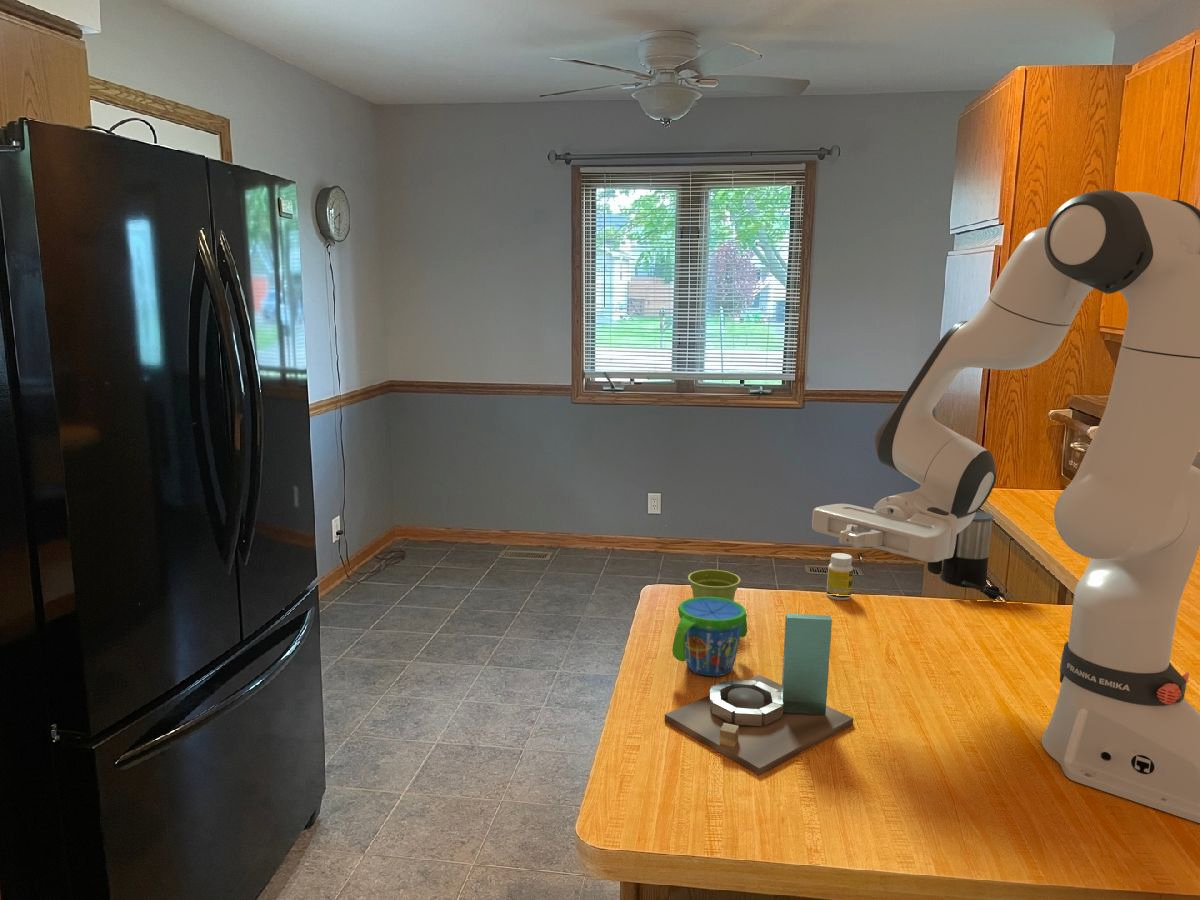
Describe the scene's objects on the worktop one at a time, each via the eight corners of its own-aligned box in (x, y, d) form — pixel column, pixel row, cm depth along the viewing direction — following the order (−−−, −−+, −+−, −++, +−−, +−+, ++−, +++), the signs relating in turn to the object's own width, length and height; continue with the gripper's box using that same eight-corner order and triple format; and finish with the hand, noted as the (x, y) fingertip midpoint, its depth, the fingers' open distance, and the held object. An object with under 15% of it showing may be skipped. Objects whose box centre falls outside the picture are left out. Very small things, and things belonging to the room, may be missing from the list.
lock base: (853, 724, 115) (854, 704, 115) (759, 775, 103) (760, 753, 102) (758, 680, 128) (759, 662, 128) (664, 720, 116) (665, 700, 115)
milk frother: (955, 571, 180) (962, 505, 178) (1028, 592, 168) (1036, 522, 165) (917, 584, 172) (923, 515, 169) (990, 607, 160) (998, 533, 157)
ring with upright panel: (830, 712, 116) (836, 618, 114) (768, 743, 108) (774, 642, 105) (756, 677, 126) (760, 590, 124) (695, 704, 118) (698, 611, 115)
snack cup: (722, 644, 141) (724, 588, 139) (768, 667, 133) (771, 607, 131) (651, 667, 132) (652, 607, 130) (695, 693, 124) (697, 629, 122)
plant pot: (680, 628, 148) (681, 582, 146) (694, 610, 156) (696, 566, 155) (731, 637, 144) (733, 589, 143) (743, 618, 153) (745, 573, 151)
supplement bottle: (852, 601, 162) (855, 560, 160) (827, 599, 163) (829, 558, 161) (849, 593, 166) (852, 553, 165) (825, 591, 167) (828, 551, 166)
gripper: (843, 490, 132) (789, 503, 124) (967, 517, 117) (915, 535, 108) (841, 528, 134) (786, 543, 125) (963, 560, 118) (911, 581, 109)
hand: (847, 540), depth 116 cm, fingers closed
